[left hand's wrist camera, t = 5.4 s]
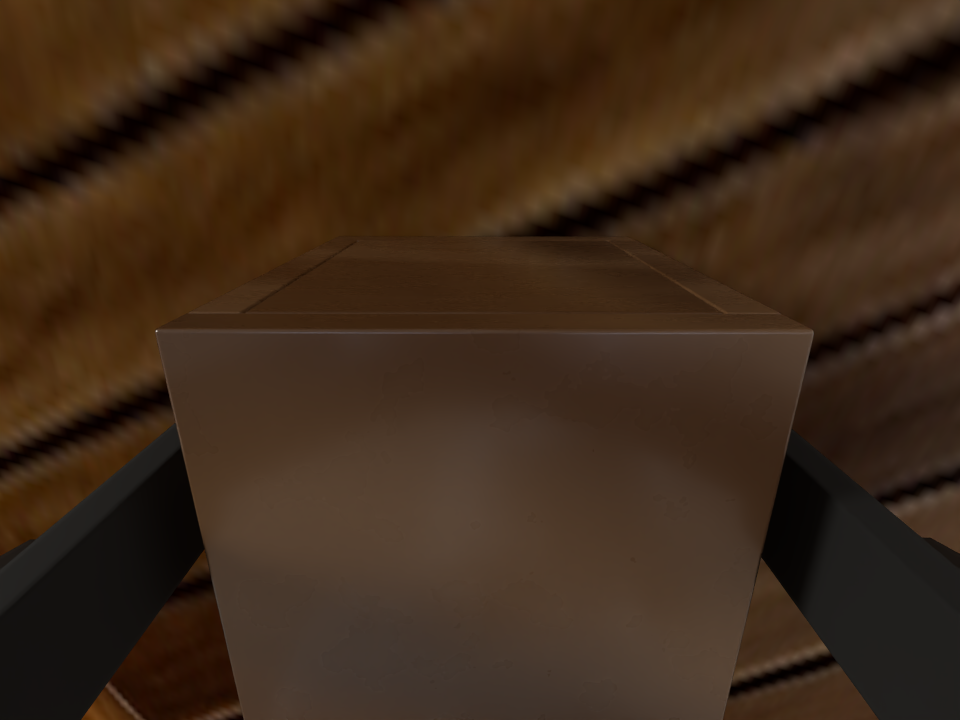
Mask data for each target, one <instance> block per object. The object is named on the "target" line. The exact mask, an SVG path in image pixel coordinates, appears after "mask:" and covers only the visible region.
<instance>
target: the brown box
mask: <svg viewBox="0 0 960 720" xmlns="http://www.w3.org/2000/svg"><path fill="white" fill-rule="evenodd" d="M155 335H156V339H157V344H158V348H159V352H160V357H161V361H162V365H163V370H164V374H165V378H166V383H167V387H168V391H169V396H170V400H171V405H172V409H173V413H174V418H175V422H176V426H177V431H178V435H179V439H180V444H181V448H182V452H183V457H184V461H185V465H186V470H187V474H188V479H189V483H190V487H191V492H192V496H193V500H194V505H195V509H196V513H197V518H198V522H199V526H200V531H201V535H202V539H203V544H204V548H205V552H206V557H207V561H208V566H209V570H210V574H211V579H212V583H213V587H214V592H215V596H216V600H217V605H218V609H219V613H220V618H221V622H222V626H223V631H224V635H225V640H226V644H227V648H228V653H229V657H230V661H231V666H232V670H233V674H234V679H235V683H236V687H237V692H238V696H239V700H240V705H241V709H242V713H243V718H244V720H723V717H724V713H725V708H726V704H727V700H728V696H729V691H730V687H731V683H732V679H733V674H734V670H735V666H736V662H737V658H738V653H739V649H740V645H741V641H742V636H743V632H744V628H745V624H746V619H747V615H748V611H749V607H750V603H751V598H752V594H753V590H754V586H755V581H756V577H757V573H758V569H759V564H760V560H761V556H762V552H763V548H764V543H765V539H766V535H767V531H768V526H769V522H770V518H771V514H772V509H773V505H774V501H775V497H776V493H777V488H778V484H779V480H780V476H781V471H782V467H783V463H784V459H785V454H786V450H787V446H788V442H789V437H790V433H791V429H792V425H793V421H794V416H795V412H796V408H797V404H798V399H799V395H800V391H801V387H802V382H803V378H804V374H805V370H806V366H807V361H808V357H809V353H810V349H811V344H812V340H813V336H814V331H813V330H812V329H810V328H808V327H806V326H804V325H802V324H800V323H798V322H796V321H794V320H792V319H790V318H788V317H786V316H784V315H782V314H780V313H779V312H777V311H775V310H773V309H771V308H769V307H767V306H765V305H763V304H761V303H759V302H757V301H755V300H753V299H751V298H749V297H748V296H746V295H744V294H742V293H740V292H738V291H736V290H734V289H732V288H730V287H728V286H726V285H724V284H722V283H720V282H718V281H716V280H714V279H712V278H710V277H708V276H706V275H704V274H702V273H700V272H698V271H696V270H694V269H692V268H690V267H688V266H686V265H684V264H682V263H680V262H678V261H676V260H674V259H672V258H670V257H668V256H666V255H664V254H662V253H660V252H658V251H656V250H654V249H652V248H650V247H648V246H646V245H644V244H642V243H640V242H638V241H636V240H633V239H631V238H629V237H337V238H335V239H333V240H330V241H328V242H326V243H324V244H322V245H320V246H318V247H316V248H315V249H313V250H311V251H309V252H307V253H305V254H303V255H301V256H299V257H297V258H295V259H293V260H291V261H289V262H287V263H285V264H283V265H281V266H279V267H277V268H275V269H273V270H271V271H269V272H267V273H265V274H263V275H261V276H260V277H258V278H256V279H254V280H252V281H250V282H248V283H246V284H244V285H242V286H240V287H238V288H236V289H234V290H232V291H230V292H228V293H226V294H224V295H222V296H220V297H218V298H216V299H214V300H212V301H210V302H208V303H206V304H204V305H203V306H201V307H199V308H197V309H195V310H193V311H191V312H189V313H187V314H185V315H183V316H181V317H179V318H177V319H175V320H173V321H171V322H169V323H167V324H165V325H163V326H161V327H159V328H157V329H156V330H155Z"/></svg>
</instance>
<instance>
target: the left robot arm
mask: <svg viewBox="0 0 960 720" xmlns="http://www.w3.org/2000/svg"><path fill="white" fill-rule="evenodd" d="M204 549H205V548H204V544H203V539H202V535H201V531H200V526H199V522H198V518H197V513H196V509H195V505H194V500H193V496H192V492H191V487H190V483H189V479H188V474H187V470H186V465H185V461H184V457H183V452H182V448H181V444H180V439H179V435H178V431H177V426H176V423H175V424H174V425H172V426H171V427H170V428H169V429H168V430H166V431H165V432H164V433H163V434H162V435H160V436H159V437H158V438H157V439H156V440H154V441H153V442H152V443H151V444H150V445H148V446H147V447H146V448H145V449H144V450H143V451H141V452H140V453H139V454H138V455H137V456H135V457H134V458H133V459H132V460H131V461H129V462H128V463H127V464H126V465H125V466H123V467H122V468H121V469H120V470H119V471H117V472H116V473H115V474H114V475H113V476H111V477H110V478H109V479H108V480H107V481H105V482H104V483H103V484H102V485H101V486H100V487H98V488H97V489H96V490H95V491H94V492H92V493H91V494H90V495H89V496H88V497H86V498H85V499H84V500H83V501H82V502H80V503H79V504H78V505H77V506H76V507H74V508H73V509H72V510H71V511H70V512H68V513H67V514H66V515H65V516H64V517H62V518H61V519H60V520H59V521H58V522H57V523H55V524H54V525H53V526H52V527H51V528H49V529H48V530H47V531H46V532H45V533H43V534H42V535H41V536H40V537H39V538H37V539H36V540H29V541H27V542H25V543H23V544H21V545H20V546H18V547H16V548H14V549H12V550H11V551H9V552H7V553H5V554H3V555H2V556H0V720H81V719H82V718H83V716H84V715H85V713H86V712H87V711H88V709H89V708H90V706H91V705H92V704H93V702H94V701H95V700H96V698H97V697H98V695H99V694H100V693H101V691H102V690H103V688H104V687H105V686H106V684H107V683H108V682H109V680H110V679H111V677H112V676H113V675H114V673H115V672H116V671H117V669H118V668H119V666H120V665H121V664H122V662H123V661H124V659H125V658H126V657H127V655H128V654H129V653H130V651H131V650H132V648H133V647H134V646H135V644H136V643H137V641H138V640H139V639H140V637H141V636H142V635H143V633H144V632H145V630H146V629H147V628H148V626H149V625H150V623H151V622H152V621H153V619H154V618H155V617H156V615H157V614H158V612H159V611H160V610H161V608H162V607H163V606H164V604H165V603H166V601H167V600H168V599H169V597H170V596H171V594H172V593H173V592H174V590H175V589H176V588H177V586H178V585H179V583H180V582H181V581H182V579H183V578H184V576H185V575H186V574H187V572H188V571H189V570H190V568H191V567H192V565H193V564H194V563H195V561H196V560H197V559H198V557H199V556H200V554H201V553H202V552H203V550H204ZM761 557H762V559H763V560H764V561H765V563H766V564H767V565H768V567H769V568H770V570H771V571H772V572H773V574H774V575H775V576H776V578H777V579H778V581H779V582H780V583H781V585H782V586H783V588H784V589H785V590H786V592H787V593H788V594H789V596H790V597H791V599H792V600H793V601H794V603H795V604H796V606H797V607H798V608H799V610H800V611H801V612H802V614H803V615H804V617H805V618H806V619H807V621H808V622H809V624H810V625H811V626H812V628H813V629H814V630H815V632H816V633H817V635H818V636H819V637H820V639H821V640H822V641H823V643H824V644H825V646H826V647H827V648H828V650H829V651H830V653H831V654H832V655H833V657H834V658H835V659H836V661H837V662H838V664H839V665H840V666H841V668H842V669H843V671H844V672H845V673H846V675H847V676H848V677H849V679H850V680H851V682H852V683H853V684H854V686H855V687H856V688H857V690H858V691H859V693H860V694H861V695H862V697H863V698H864V700H865V701H866V702H867V704H868V705H869V706H870V708H871V709H872V711H873V712H874V713H875V715H876V716H877V718H878V719H879V720H960V554H959V553H957V552H955V551H953V550H952V549H950V548H948V547H946V546H944V545H943V544H941V543H939V542H937V541H935V540H933V539H932V538H921V537H920V536H919V535H918V534H917V533H915V532H914V531H913V530H912V529H911V528H909V527H908V526H907V525H906V524H905V523H903V522H902V521H901V520H900V519H899V518H898V517H896V516H895V515H894V514H893V513H892V512H890V511H889V510H888V509H887V508H886V507H884V506H883V505H882V504H881V503H880V502H878V501H877V500H876V499H875V498H874V497H872V496H871V495H870V494H869V493H868V492H866V491H865V490H864V489H863V488H862V487H860V486H859V485H858V484H857V483H856V482H855V481H853V480H852V479H851V478H850V477H849V476H847V475H846V474H845V473H844V472H843V471H841V470H840V469H839V468H838V467H837V466H835V465H834V464H833V463H832V462H831V461H829V460H828V459H827V458H826V457H825V456H823V455H822V454H821V453H820V452H819V451H817V450H816V449H815V448H814V447H813V446H812V445H810V444H809V443H808V442H807V441H806V440H804V439H803V438H802V437H801V436H800V435H798V434H797V433H796V432H795V431H794V430H792V429H791V433H790V437H789V442H788V446H787V450H786V454H785V459H784V463H783V467H782V471H781V476H780V480H779V484H778V488H777V493H776V497H775V501H774V505H773V509H772V514H771V518H770V522H769V526H768V531H767V535H766V539H765V543H764V548H763V552H762V556H761Z"/></svg>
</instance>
